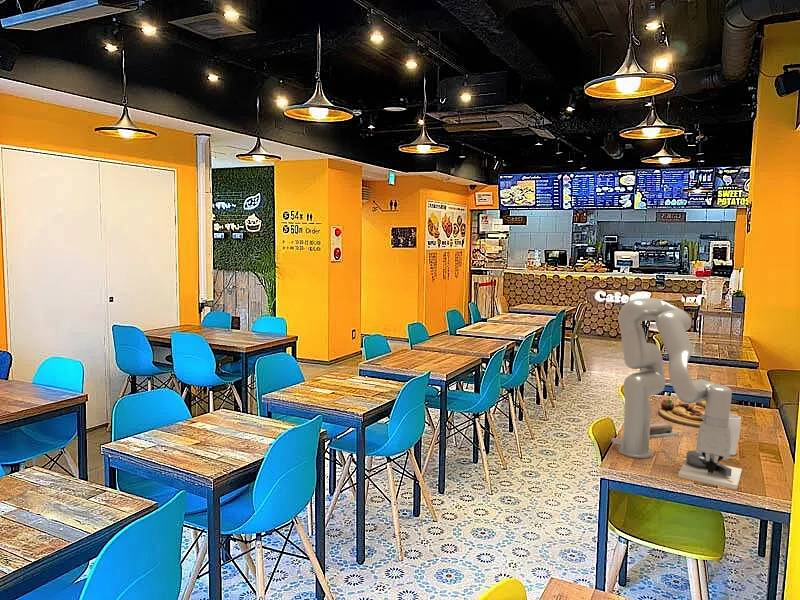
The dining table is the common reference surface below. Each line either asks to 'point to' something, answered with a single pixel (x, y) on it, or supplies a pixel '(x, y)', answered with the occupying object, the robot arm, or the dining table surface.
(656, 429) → the packaged product
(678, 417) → the wooden plate with food
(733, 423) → the drinking glass
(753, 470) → the dining table surface
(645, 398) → the robot arm
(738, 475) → the dial base
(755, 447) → the dining table surface
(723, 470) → the dial
